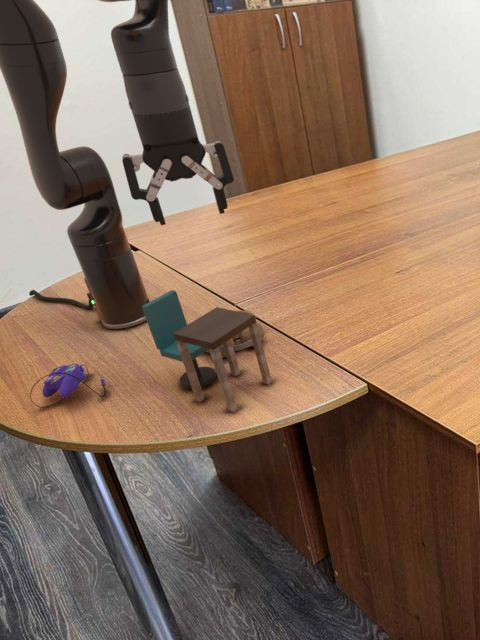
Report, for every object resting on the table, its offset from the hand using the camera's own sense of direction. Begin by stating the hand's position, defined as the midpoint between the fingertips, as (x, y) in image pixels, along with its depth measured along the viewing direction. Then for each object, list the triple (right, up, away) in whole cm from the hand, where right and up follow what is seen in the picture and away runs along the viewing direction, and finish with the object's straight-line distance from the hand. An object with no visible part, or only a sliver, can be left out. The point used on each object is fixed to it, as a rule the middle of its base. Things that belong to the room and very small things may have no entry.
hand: (192, 217), depth 99 cm
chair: (-3, -25, +10) cm, 27 cm away
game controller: (-23, -27, +9) cm, 37 cm away
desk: (+4, -27, +7) cm, 28 cm away
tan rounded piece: (-1, -19, +21) cm, 28 cm away
